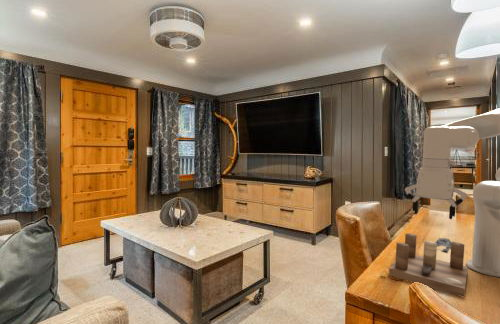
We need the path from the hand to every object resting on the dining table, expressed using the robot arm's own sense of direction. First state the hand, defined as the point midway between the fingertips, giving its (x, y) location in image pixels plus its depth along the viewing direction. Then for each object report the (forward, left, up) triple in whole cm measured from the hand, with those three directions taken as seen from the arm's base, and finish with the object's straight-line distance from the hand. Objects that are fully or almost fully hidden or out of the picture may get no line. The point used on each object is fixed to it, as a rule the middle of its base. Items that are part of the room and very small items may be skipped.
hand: (432, 215), depth 94 cm
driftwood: (-30, -26, -21) cm, 45 cm away
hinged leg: (+2, +2, -17) cm, 17 cm away
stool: (0, 0, -20) cm, 20 cm away
